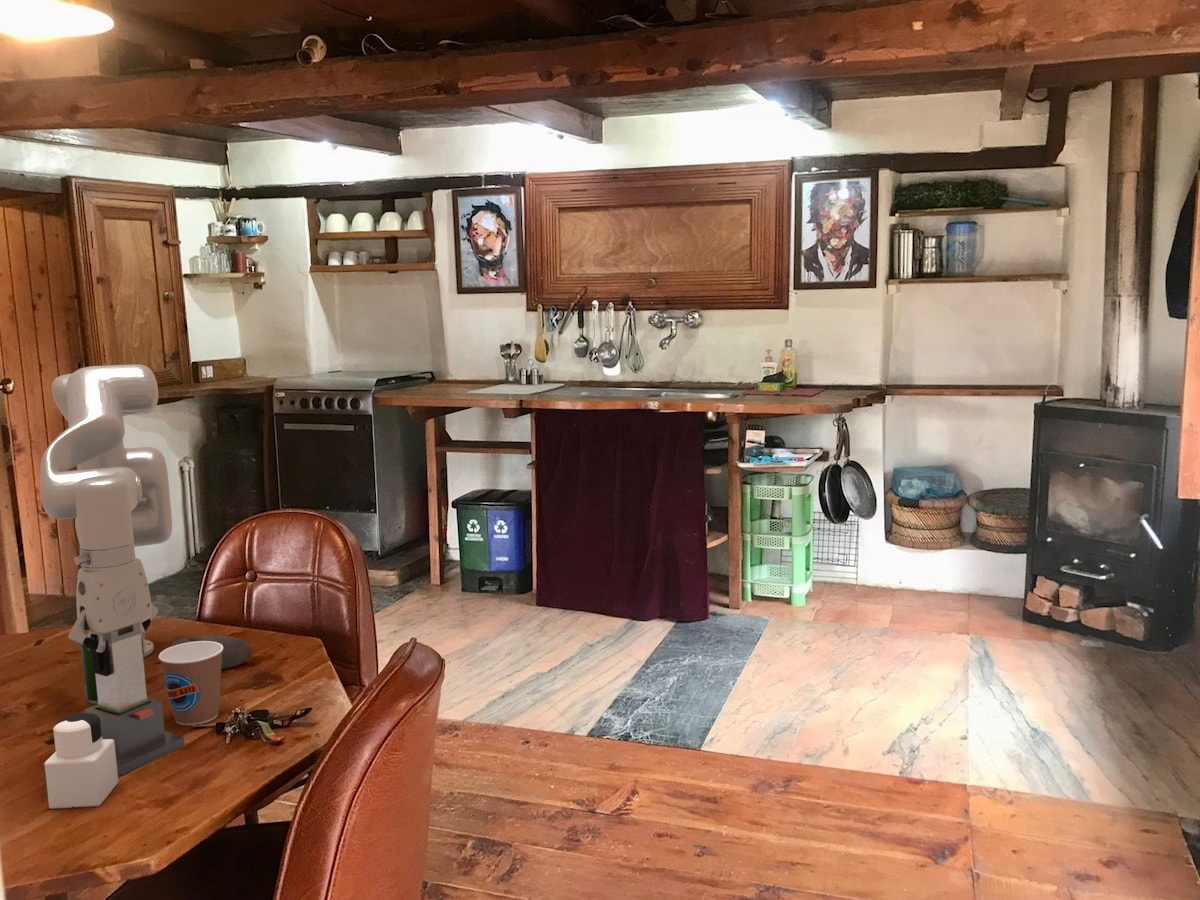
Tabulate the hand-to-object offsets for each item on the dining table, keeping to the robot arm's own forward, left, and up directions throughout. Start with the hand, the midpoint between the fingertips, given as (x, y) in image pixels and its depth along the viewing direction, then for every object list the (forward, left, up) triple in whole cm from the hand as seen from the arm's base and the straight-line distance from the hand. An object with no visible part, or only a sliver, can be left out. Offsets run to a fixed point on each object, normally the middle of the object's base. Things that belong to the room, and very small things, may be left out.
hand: (119, 667), depth 159 cm
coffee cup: (-2, +14, -15) cm, 21 cm away
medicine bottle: (+7, -12, -15) cm, 20 cm away
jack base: (0, 0, -14) cm, 14 cm away
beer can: (-24, +12, -15) cm, 31 cm away
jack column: (0, 0, -8) cm, 8 cm away
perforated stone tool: (-18, +31, -15) cm, 39 cm away
